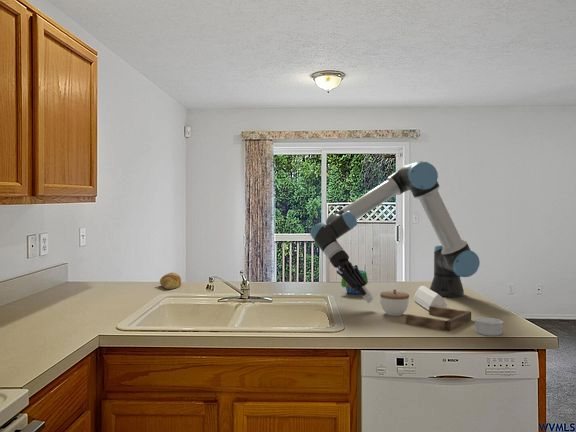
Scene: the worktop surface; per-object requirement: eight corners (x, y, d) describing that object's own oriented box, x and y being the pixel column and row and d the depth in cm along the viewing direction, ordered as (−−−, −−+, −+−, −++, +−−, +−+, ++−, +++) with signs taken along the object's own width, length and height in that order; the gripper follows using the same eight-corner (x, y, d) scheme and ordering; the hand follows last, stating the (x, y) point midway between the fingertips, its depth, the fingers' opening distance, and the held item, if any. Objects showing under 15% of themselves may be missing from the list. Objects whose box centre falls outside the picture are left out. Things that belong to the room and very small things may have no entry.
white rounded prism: (407, 291, 217) (425, 303, 193) (422, 283, 218) (441, 294, 194) (416, 306, 218) (434, 319, 194) (430, 298, 218) (450, 310, 194)
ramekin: (470, 329, 170) (470, 316, 170) (497, 329, 169) (497, 317, 169) (479, 336, 161) (479, 323, 161) (507, 337, 161) (508, 323, 160)
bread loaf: (174, 297, 234) (182, 282, 234) (154, 288, 232) (162, 272, 233) (178, 288, 255) (186, 275, 255) (161, 279, 254) (168, 265, 254)
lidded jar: (403, 318, 183) (403, 293, 183) (375, 314, 189) (375, 290, 189) (412, 313, 192) (413, 288, 192) (385, 309, 198) (386, 286, 198)
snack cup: (359, 289, 242) (359, 268, 241) (374, 293, 233) (375, 271, 233) (334, 292, 233) (334, 270, 233) (349, 296, 224) (349, 273, 224)
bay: (405, 323, 176) (406, 314, 176) (430, 313, 192) (430, 305, 192) (448, 331, 166) (449, 322, 166) (471, 319, 183) (471, 311, 183)
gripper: (339, 259, 214) (373, 304, 204) (322, 262, 204) (356, 309, 194) (350, 248, 210) (385, 292, 200) (333, 250, 200) (368, 297, 190)
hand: (371, 301), depth 197 cm, fingers closed
